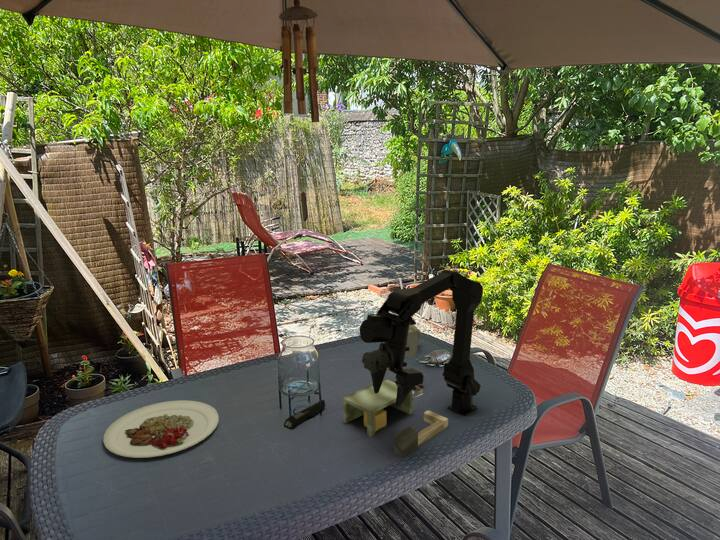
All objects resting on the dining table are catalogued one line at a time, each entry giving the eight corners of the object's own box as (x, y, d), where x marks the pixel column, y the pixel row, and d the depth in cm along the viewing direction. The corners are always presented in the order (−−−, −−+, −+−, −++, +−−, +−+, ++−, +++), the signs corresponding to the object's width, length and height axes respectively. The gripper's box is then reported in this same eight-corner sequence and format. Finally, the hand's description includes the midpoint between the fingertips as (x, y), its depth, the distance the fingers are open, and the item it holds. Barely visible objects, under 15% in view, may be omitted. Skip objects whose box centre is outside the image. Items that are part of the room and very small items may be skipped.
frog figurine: (415, 380, 172) (416, 369, 171) (433, 395, 161) (433, 384, 160) (385, 385, 168) (385, 375, 167) (400, 401, 157) (400, 390, 156)
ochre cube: (374, 419, 146) (374, 405, 145) (386, 425, 142) (386, 410, 141) (363, 425, 142) (363, 411, 142) (375, 431, 139) (375, 416, 138)
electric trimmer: (328, 410, 152) (328, 401, 152) (292, 431, 140) (291, 421, 140) (319, 407, 154) (319, 397, 154) (282, 427, 143) (282, 417, 142)
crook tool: (449, 427, 141) (449, 411, 140) (402, 457, 127) (403, 439, 126) (428, 418, 146) (428, 402, 145) (381, 445, 132) (380, 428, 131)
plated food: (166, 398, 161) (165, 388, 160) (241, 418, 148) (240, 407, 147) (78, 446, 135) (77, 434, 134) (160, 475, 122) (159, 462, 121)
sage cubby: (384, 401, 156) (384, 378, 155) (412, 413, 149) (412, 389, 147) (343, 422, 144) (342, 397, 143) (371, 436, 137) (370, 411, 135)
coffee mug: (400, 359, 189) (400, 333, 187) (386, 350, 197) (386, 326, 195) (429, 352, 195) (430, 327, 193) (415, 344, 203) (415, 320, 201)
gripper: (349, 332, 132) (341, 389, 134) (394, 353, 117) (384, 417, 119) (383, 331, 139) (374, 386, 140) (429, 351, 124) (419, 412, 125)
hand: (386, 399), depth 131 cm, fingers open, 9 cm apart
